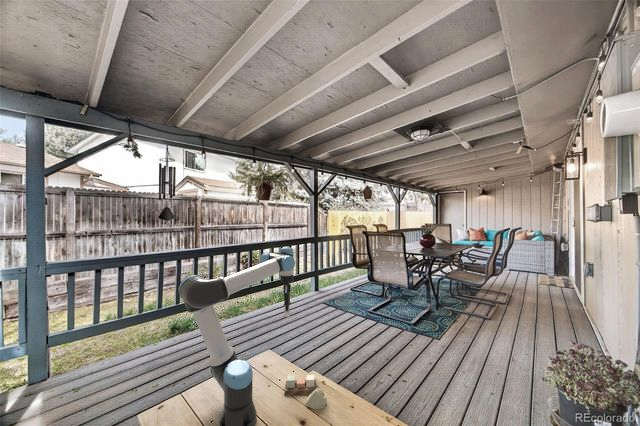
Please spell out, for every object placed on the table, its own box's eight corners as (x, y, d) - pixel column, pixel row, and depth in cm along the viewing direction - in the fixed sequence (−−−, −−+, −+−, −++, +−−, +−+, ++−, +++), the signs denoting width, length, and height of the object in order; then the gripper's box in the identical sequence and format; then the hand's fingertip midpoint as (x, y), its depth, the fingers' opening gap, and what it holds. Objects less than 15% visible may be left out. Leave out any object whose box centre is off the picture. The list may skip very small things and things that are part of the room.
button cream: (306, 387, 123) (306, 379, 123) (306, 382, 127) (306, 375, 127) (314, 386, 123) (314, 379, 123) (314, 381, 127) (314, 374, 127)
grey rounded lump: (331, 402, 112) (318, 399, 109) (320, 415, 113) (307, 412, 110) (325, 385, 120) (313, 382, 116) (315, 397, 121) (302, 394, 117)
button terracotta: (296, 391, 123) (296, 383, 123) (297, 385, 127) (297, 378, 127) (304, 390, 123) (304, 383, 123) (304, 385, 127) (304, 378, 127)
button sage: (286, 387, 123) (286, 380, 123) (287, 382, 127) (287, 375, 127) (294, 387, 123) (294, 380, 123) (295, 382, 127) (295, 375, 127)
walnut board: (284, 395, 121) (284, 390, 121) (286, 384, 129) (286, 380, 129) (316, 393, 121) (316, 389, 121) (316, 383, 129) (316, 379, 129)
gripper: (292, 277, 133) (292, 320, 132) (294, 272, 146) (294, 311, 145) (278, 277, 133) (279, 321, 132) (281, 272, 146) (282, 312, 145)
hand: (287, 316), depth 138 cm, fingers closed
